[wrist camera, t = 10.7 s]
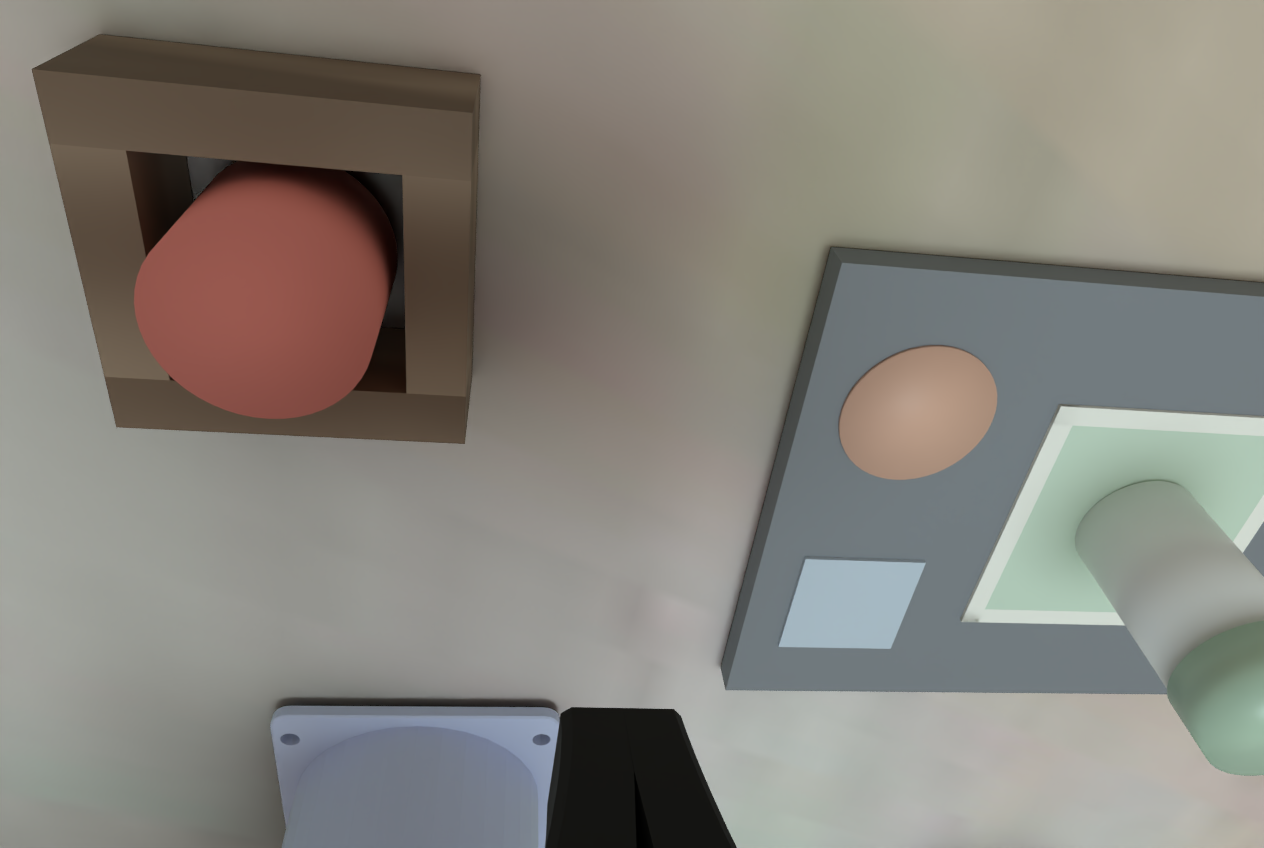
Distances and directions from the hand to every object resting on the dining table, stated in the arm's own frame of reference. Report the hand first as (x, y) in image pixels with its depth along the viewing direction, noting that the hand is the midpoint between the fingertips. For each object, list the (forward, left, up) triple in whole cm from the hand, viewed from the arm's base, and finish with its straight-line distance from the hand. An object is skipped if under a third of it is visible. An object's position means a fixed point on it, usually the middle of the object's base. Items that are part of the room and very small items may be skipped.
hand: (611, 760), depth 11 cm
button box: (+2, +5, -10) cm, 12 cm away
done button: (+2, +5, -10) cm, 12 cm away
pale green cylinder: (-4, -14, -10) cm, 18 cm away
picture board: (-4, -13, -10) cm, 17 cm away
